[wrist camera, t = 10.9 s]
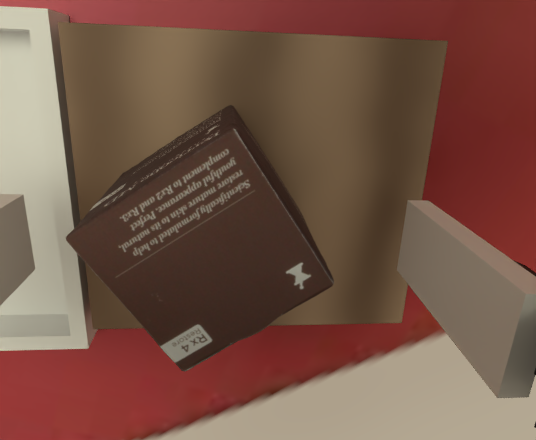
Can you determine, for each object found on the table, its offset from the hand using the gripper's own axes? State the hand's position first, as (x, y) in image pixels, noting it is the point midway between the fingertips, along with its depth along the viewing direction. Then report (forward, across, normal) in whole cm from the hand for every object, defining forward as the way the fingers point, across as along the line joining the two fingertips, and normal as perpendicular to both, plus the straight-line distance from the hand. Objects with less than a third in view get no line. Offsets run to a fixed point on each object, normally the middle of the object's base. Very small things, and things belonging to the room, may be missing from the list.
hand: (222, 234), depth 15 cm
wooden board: (+8, -1, 0) cm, 8 cm away
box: (+5, +1, 0) cm, 5 cm away
